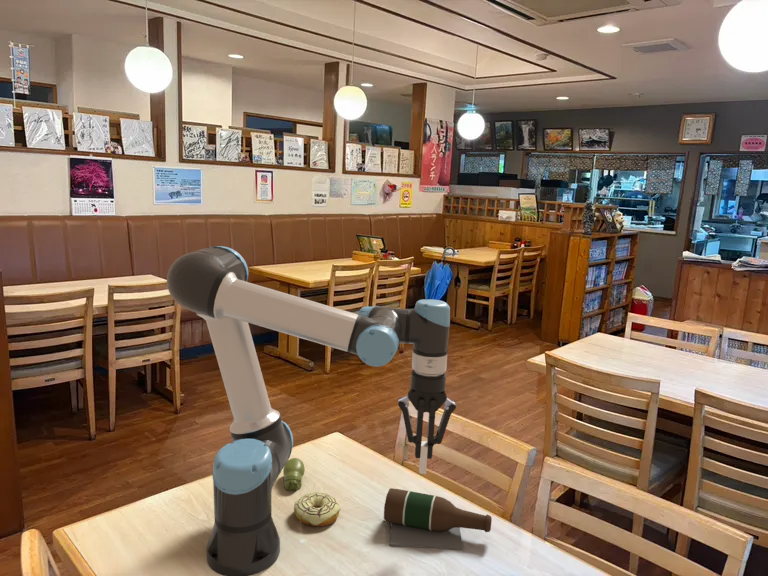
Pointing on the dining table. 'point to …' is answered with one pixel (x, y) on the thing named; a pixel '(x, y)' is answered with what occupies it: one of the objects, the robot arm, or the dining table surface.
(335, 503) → the decorated donut
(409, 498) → the beer bottle
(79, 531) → the dining table surface
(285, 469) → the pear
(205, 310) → the robot arm
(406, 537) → the mat
